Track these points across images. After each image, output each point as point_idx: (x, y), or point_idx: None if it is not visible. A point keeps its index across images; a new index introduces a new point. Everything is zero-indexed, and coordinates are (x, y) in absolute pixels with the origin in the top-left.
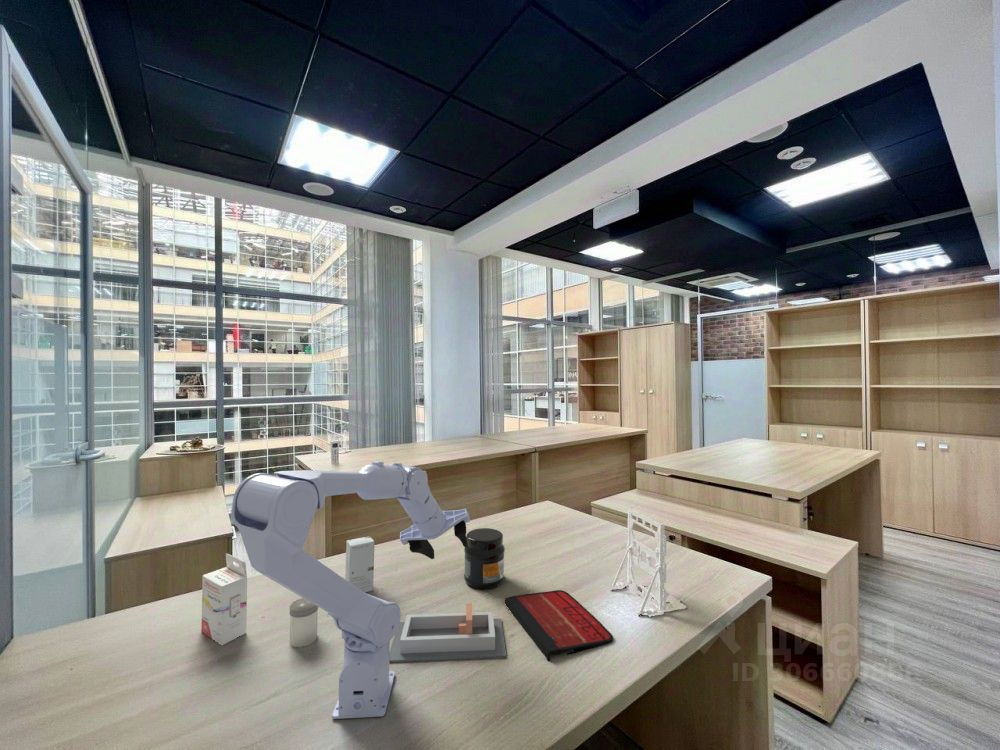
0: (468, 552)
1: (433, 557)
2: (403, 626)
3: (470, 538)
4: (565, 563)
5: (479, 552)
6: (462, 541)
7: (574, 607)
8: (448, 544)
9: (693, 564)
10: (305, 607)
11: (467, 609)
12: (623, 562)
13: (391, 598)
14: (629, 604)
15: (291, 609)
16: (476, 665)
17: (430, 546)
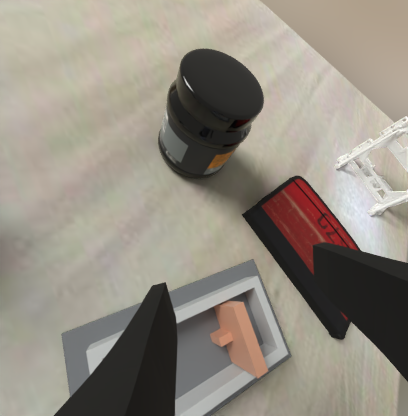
0: (188, 128)
1: (176, 328)
2: (81, 346)
3: (201, 98)
4: (278, 109)
5: (217, 135)
6: (375, 337)
7: (325, 215)
8: (86, 30)
9: (373, 118)
10: None
11: (244, 330)
12: (376, 144)
13: (5, 233)
14: (357, 193)
15: None
16: (259, 398)
17: (162, 318)
